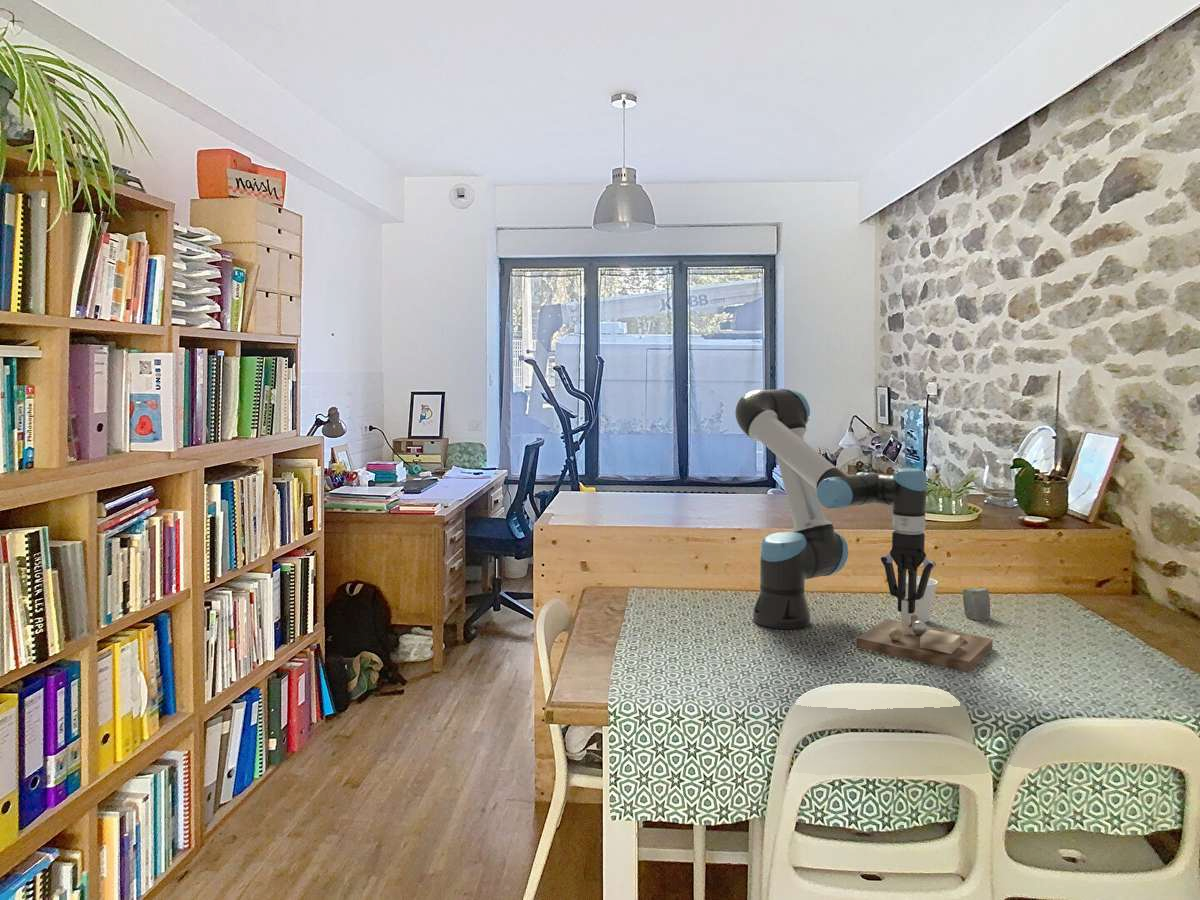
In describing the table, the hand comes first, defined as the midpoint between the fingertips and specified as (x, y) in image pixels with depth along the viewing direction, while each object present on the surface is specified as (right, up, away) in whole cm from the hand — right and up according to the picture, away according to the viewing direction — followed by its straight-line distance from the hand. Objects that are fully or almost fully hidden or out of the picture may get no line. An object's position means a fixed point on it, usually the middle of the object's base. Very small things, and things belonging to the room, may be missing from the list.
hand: (905, 625), depth 207 cm
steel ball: (+3, 0, -2) cm, 3 cm away
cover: (+4, -3, -11) cm, 12 cm away
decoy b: (+4, 0, +6) cm, 7 cm away
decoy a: (-5, -1, -6) cm, 8 cm away
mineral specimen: (+27, -2, +22) cm, 35 cm away
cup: (+10, -3, +18) cm, 21 cm away
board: (+3, -5, -4) cm, 7 cm away
